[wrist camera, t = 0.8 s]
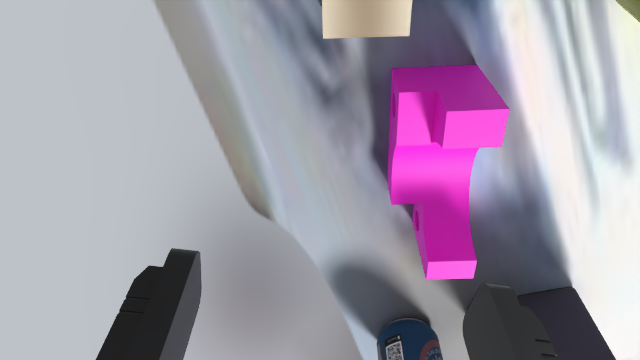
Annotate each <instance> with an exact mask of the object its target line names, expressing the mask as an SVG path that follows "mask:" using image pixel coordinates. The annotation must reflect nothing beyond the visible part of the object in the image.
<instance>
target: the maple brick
mask: <svg viewBox="0 0 640 360" xmlns="http://www.w3.org/2000/svg"><path fill="white" fill-rule="evenodd" d="M411 10H412V0H322V16H323V38H359V37H394V36H409V34H410V22H411Z"/></svg>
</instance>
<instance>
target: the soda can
mask: <svg viewBox="0 0 640 360" xmlns="http://www.w3.org/2000/svg"><path fill="white" fill-rule="evenodd" d="M377 350H378V360H443V358H442V353H441V349H440V345H439V340H438V337H437V335H436V333H435V332H434V331H433V330H432V329H431V328H430V327H429V326H428V325H427V324H426V323H425V322H423V321H421V320H418V319H414V318H402V319H397V320H394V321H392V322H390V323H389V324H387V325H386V326H385V327H384V329H383V330H382V332H381V334H380V336H379V338H378V341H377Z"/></svg>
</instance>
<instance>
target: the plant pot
mask: <svg viewBox="0 0 640 360" xmlns="http://www.w3.org/2000/svg"><path fill="white" fill-rule="evenodd" d="M616 1H617V2H618V3H619V4H620V5H621V6H622V7H623V8H624V9H625V10H626V11H628V12H629V13H630V14H631V15H632V16H633V17H634V18H636V19H637V20H638V21H639V22H640V0H616Z"/></svg>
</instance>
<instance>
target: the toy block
mask: <svg viewBox="0 0 640 360" xmlns="http://www.w3.org/2000/svg"><path fill="white" fill-rule="evenodd" d="M508 114H509V108H508V106H507V105H506V103H505V102H504V101H503V99H502V98H501V97H500V95H499V94H498V93H497V91H496V90H495V89H494V87H493V86H492V85H491V83H490V82H489V80H488V79H487V78H486V76H485V75H484V74H483V72H482V71H481V70H480V68H479V67H478V66H477V65H457V66H435V67H414V68H392V75H391V100H390V124H389V149H388V173H387V183H388V188H389V194H390V199H391V204H392V205H395V204H414V206H413V218H412V221H413V226H414V230H415V234H416V238H417V243H418V247H419V251H420V255H421V260H422V264H423V268H424V273H425V277H426V280H432V279H472V278H474V273H475V268H476V264H477V258H476V255H475V251H474V247H473V242H472V236H471V229H470V219H469V185H470V176H471V170H472V166H473V162H474V158H475V156H476V153H477V151H478V149H479V148H484V147H502V142H503V137H504V133H505V128H506V123H507V118H508Z"/></svg>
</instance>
